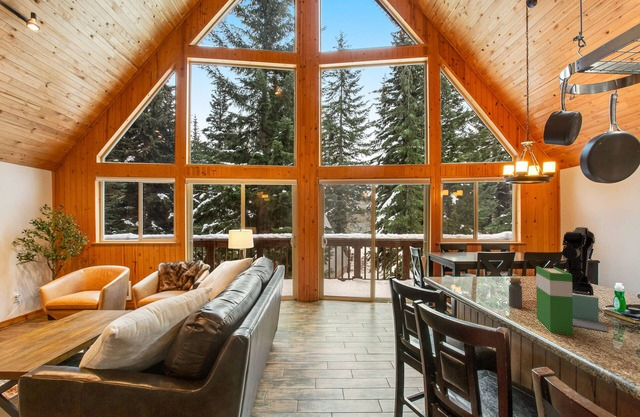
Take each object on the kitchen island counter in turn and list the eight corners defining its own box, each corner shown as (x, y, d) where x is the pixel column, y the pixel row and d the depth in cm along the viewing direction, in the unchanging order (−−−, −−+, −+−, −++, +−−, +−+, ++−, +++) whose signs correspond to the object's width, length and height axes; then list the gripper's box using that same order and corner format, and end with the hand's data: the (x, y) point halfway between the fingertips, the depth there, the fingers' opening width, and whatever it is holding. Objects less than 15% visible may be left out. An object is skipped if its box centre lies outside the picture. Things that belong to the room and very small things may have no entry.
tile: (567, 316, 146) (566, 292, 146) (598, 321, 139) (598, 296, 139) (566, 317, 143) (566, 293, 143) (598, 323, 136) (598, 298, 137)
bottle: (520, 305, 162) (520, 276, 163) (523, 308, 157) (523, 278, 157) (507, 304, 164) (507, 276, 165) (510, 307, 159) (510, 278, 159)
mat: (561, 317, 144) (561, 316, 144) (605, 324, 134) (605, 323, 134) (560, 324, 135) (560, 322, 135) (607, 332, 125) (607, 331, 125)
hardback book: (536, 318, 141) (536, 266, 142) (556, 320, 139) (555, 267, 139) (550, 332, 125) (549, 273, 125) (572, 335, 122) (572, 274, 123)
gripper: (554, 254, 166) (555, 283, 165) (553, 257, 151) (553, 289, 151) (582, 256, 159) (582, 286, 158) (583, 260, 144) (583, 293, 144)
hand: (574, 288), depth 153 cm, fingers closed
